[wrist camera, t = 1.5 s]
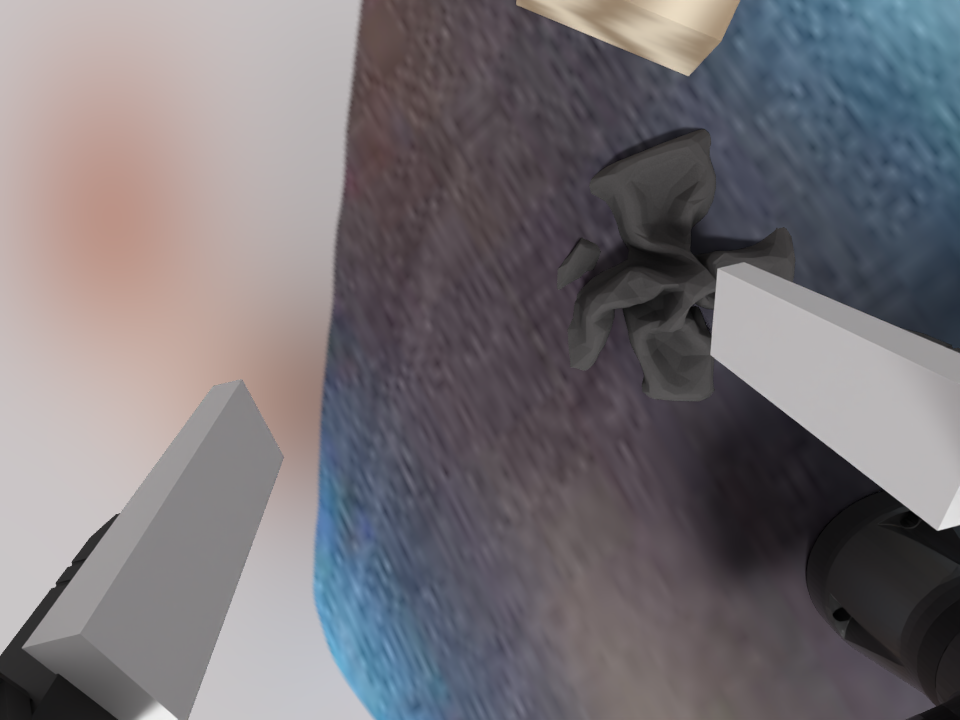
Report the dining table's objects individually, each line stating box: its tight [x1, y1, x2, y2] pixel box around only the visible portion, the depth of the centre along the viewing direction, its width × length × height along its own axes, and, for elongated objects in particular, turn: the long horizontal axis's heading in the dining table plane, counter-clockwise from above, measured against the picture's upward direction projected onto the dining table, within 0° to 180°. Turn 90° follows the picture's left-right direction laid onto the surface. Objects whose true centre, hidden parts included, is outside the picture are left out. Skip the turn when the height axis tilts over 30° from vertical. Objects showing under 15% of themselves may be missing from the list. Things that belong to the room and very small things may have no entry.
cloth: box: [557, 129, 795, 401], centre depth 32 cm, size 22×19×6 cm
